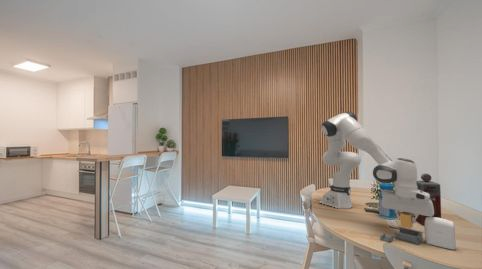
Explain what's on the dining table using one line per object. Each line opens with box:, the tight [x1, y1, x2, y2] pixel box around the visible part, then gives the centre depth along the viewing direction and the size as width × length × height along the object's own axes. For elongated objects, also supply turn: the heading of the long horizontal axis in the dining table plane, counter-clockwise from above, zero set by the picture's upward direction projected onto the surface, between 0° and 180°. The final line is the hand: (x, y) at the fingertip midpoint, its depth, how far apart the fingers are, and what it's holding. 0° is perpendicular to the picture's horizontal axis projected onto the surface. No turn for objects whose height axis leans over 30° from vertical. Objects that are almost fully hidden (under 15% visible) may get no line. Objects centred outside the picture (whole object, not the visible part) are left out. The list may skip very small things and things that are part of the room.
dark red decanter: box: [413, 173, 442, 227], centre depth 124 cm, size 9×11×28 cm
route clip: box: [380, 232, 394, 244], centre depth 105 cm, size 4×5×2 cm
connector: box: [399, 211, 414, 229], centre depth 106 cm, size 4×4×7 cm
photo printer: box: [424, 217, 457, 251], centre depth 99 cm, size 10×4×12 cm, turn 47°
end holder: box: [394, 226, 424, 246], centre depth 106 cm, size 9×10×3 cm
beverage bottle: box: [378, 183, 396, 220], centre depth 135 cm, size 8×8×20 cm
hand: (406, 221), depth 106 cm, fingers closed on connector, 4 cm apart
